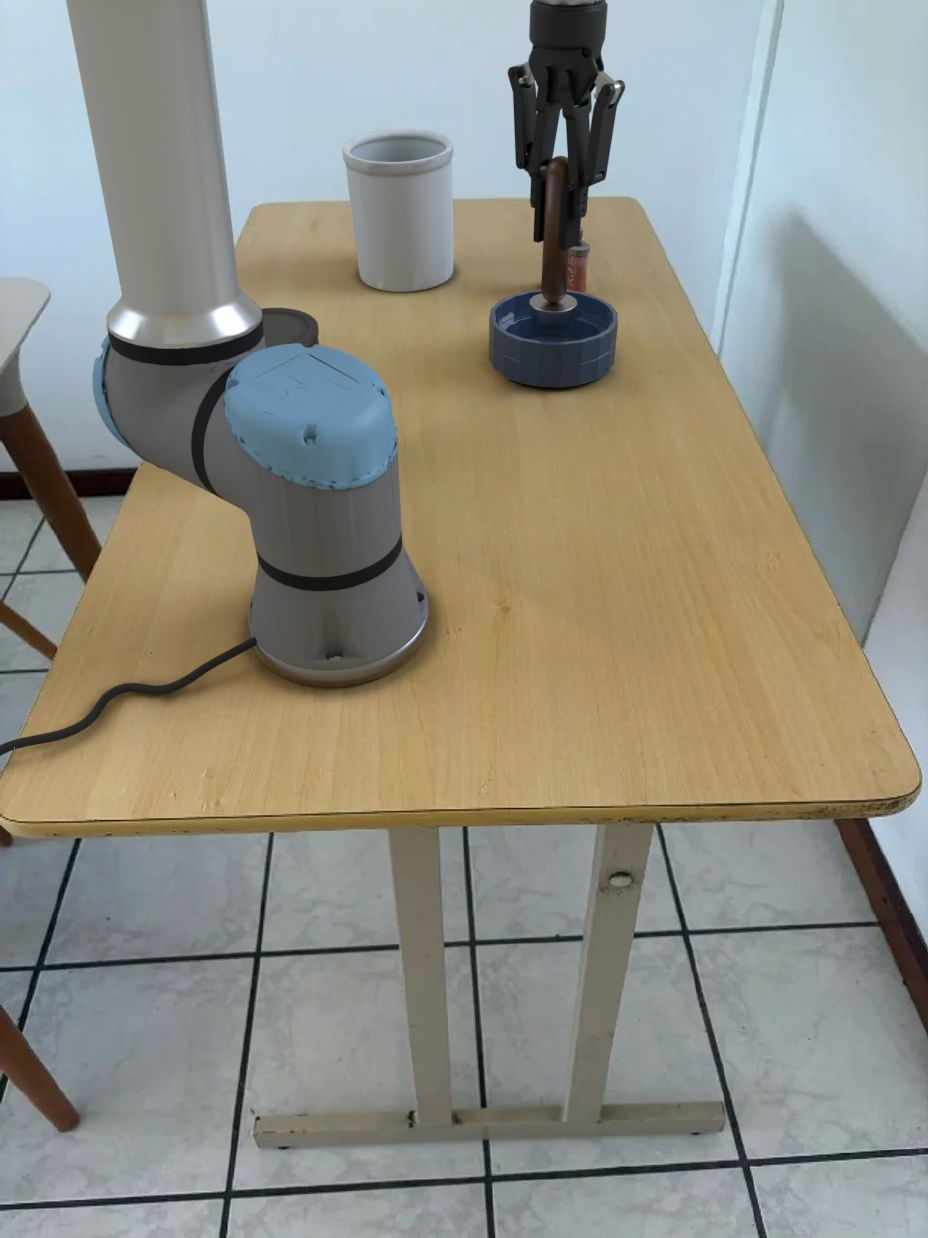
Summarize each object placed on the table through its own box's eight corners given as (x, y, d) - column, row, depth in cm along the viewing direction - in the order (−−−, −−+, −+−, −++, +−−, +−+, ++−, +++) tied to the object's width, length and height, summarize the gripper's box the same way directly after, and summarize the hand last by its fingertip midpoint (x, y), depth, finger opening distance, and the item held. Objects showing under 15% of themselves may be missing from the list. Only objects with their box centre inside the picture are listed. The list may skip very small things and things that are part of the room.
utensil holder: (382, 303, 131) (372, 168, 120) (337, 267, 141) (324, 138, 129) (474, 280, 137) (474, 148, 125) (425, 246, 146) (420, 121, 135)
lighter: (592, 300, 131) (597, 226, 124) (572, 307, 130) (577, 232, 123) (555, 281, 136) (558, 209, 129) (536, 287, 135) (539, 214, 128)
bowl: (562, 405, 110) (565, 356, 106) (464, 365, 118) (463, 318, 114) (637, 358, 118) (643, 311, 114) (541, 323, 126) (542, 278, 122)
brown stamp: (556, 329, 111) (566, 167, 99) (519, 315, 114) (524, 157, 102) (585, 313, 114) (597, 155, 102) (548, 300, 117) (556, 145, 105)
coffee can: (263, 422, 108) (242, 301, 99) (348, 435, 106) (334, 313, 96) (219, 470, 101) (192, 345, 91) (309, 485, 98) (290, 358, 89)
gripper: (661, 0, 91) (634, 250, 106) (528, -17, 99) (521, 217, 114) (615, 12, 86) (594, 270, 102) (480, -7, 94) (480, 235, 110)
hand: (556, 241), depth 108 cm, fingers closed on brown stamp, 3 cm apart
